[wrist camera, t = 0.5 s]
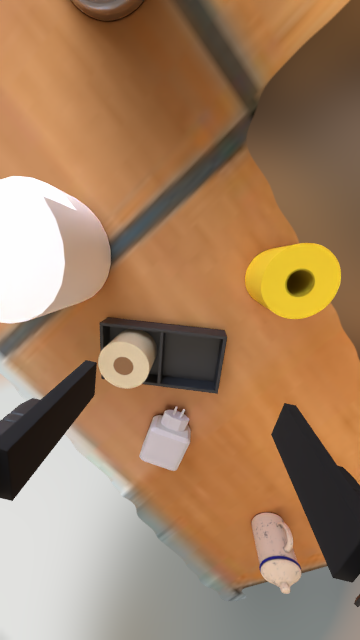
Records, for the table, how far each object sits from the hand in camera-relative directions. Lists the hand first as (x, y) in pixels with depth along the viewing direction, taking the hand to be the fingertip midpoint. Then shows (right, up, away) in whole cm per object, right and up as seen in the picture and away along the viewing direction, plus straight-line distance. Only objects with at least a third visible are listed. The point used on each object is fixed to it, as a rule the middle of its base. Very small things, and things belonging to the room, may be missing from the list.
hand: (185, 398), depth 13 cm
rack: (-4, -1, +28) cm, 28 cm away
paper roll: (-10, 0, +28) cm, 30 cm away
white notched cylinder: (-23, +18, +24) cm, 38 cm away
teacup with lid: (+24, -48, +39) cm, 67 cm away
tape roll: (+16, +13, +22) cm, 30 cm away
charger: (-3, -19, +33) cm, 38 cm away
